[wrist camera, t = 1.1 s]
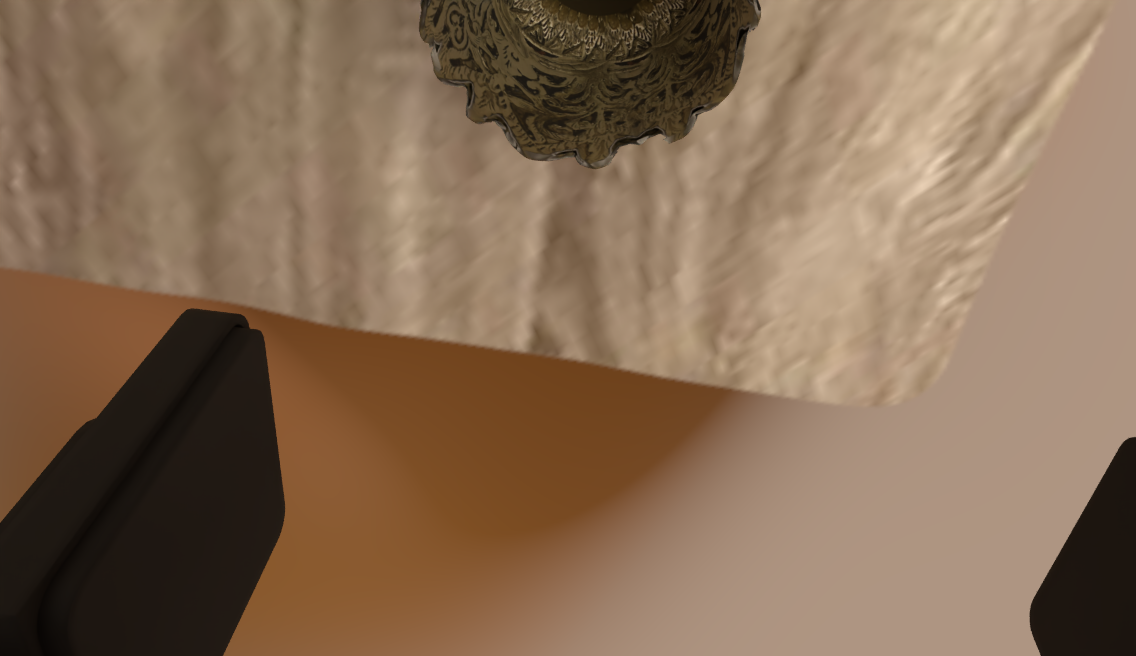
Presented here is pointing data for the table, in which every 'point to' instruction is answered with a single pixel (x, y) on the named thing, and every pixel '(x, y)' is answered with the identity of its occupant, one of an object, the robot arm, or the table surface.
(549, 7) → the cup
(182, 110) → the table surface
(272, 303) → the table surface
